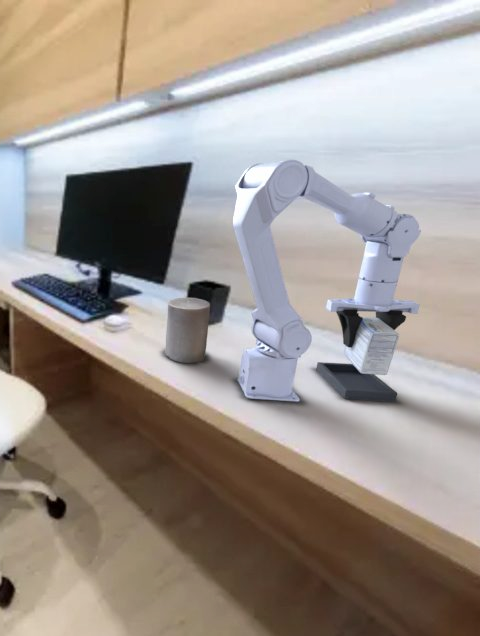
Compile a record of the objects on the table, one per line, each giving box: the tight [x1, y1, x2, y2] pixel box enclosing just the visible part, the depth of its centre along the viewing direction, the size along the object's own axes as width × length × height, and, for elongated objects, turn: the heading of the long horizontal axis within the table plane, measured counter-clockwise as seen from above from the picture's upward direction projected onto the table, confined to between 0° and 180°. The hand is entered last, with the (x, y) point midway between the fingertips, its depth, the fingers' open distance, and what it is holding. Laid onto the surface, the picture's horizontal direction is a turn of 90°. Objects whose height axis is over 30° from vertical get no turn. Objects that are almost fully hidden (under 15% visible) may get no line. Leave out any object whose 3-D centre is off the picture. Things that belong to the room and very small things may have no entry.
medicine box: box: [342, 316, 400, 376], centre depth 73 cm, size 8×4×9 cm, turn 166°
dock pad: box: [315, 361, 399, 403], centre depth 78 cm, size 9×13×2 cm
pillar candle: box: [164, 297, 211, 364], centre depth 93 cm, size 10×10×15 cm
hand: (361, 346), depth 76 cm, fingers closed on medicine box, 4 cm apart
